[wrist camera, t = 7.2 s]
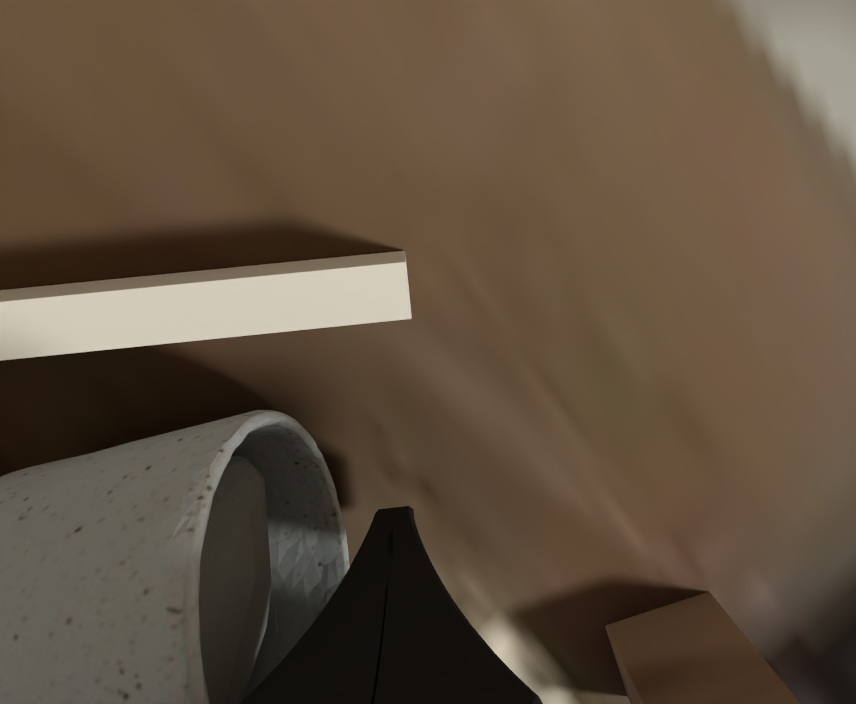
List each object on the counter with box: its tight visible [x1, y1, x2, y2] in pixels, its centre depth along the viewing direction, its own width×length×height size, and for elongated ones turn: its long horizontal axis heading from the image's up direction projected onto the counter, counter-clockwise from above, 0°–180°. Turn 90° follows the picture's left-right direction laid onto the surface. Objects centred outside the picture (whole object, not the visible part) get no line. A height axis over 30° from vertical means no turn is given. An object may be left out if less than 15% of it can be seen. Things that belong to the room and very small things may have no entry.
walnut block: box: [605, 592, 800, 704], centre depth 15 cm, size 4×4×4 cm
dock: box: [0, 251, 412, 361], centre depth 13 cm, size 15×16×3 cm
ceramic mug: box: [0, 410, 350, 704], centre depth 11 cm, size 11×8×8 cm
